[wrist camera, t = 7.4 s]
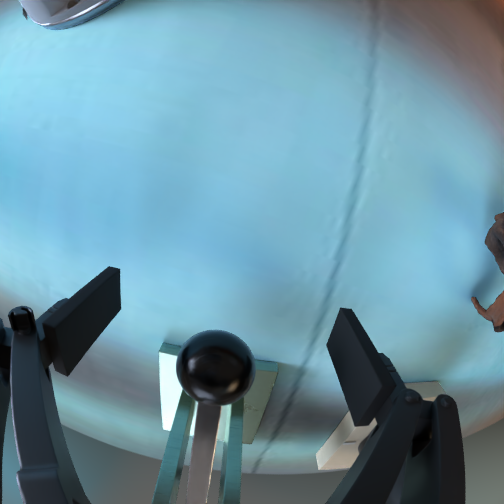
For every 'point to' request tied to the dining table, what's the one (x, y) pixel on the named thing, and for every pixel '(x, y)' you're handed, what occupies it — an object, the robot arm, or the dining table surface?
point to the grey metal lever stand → (230, 429)
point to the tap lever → (211, 395)
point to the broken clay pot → (500, 244)
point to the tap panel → (361, 433)
